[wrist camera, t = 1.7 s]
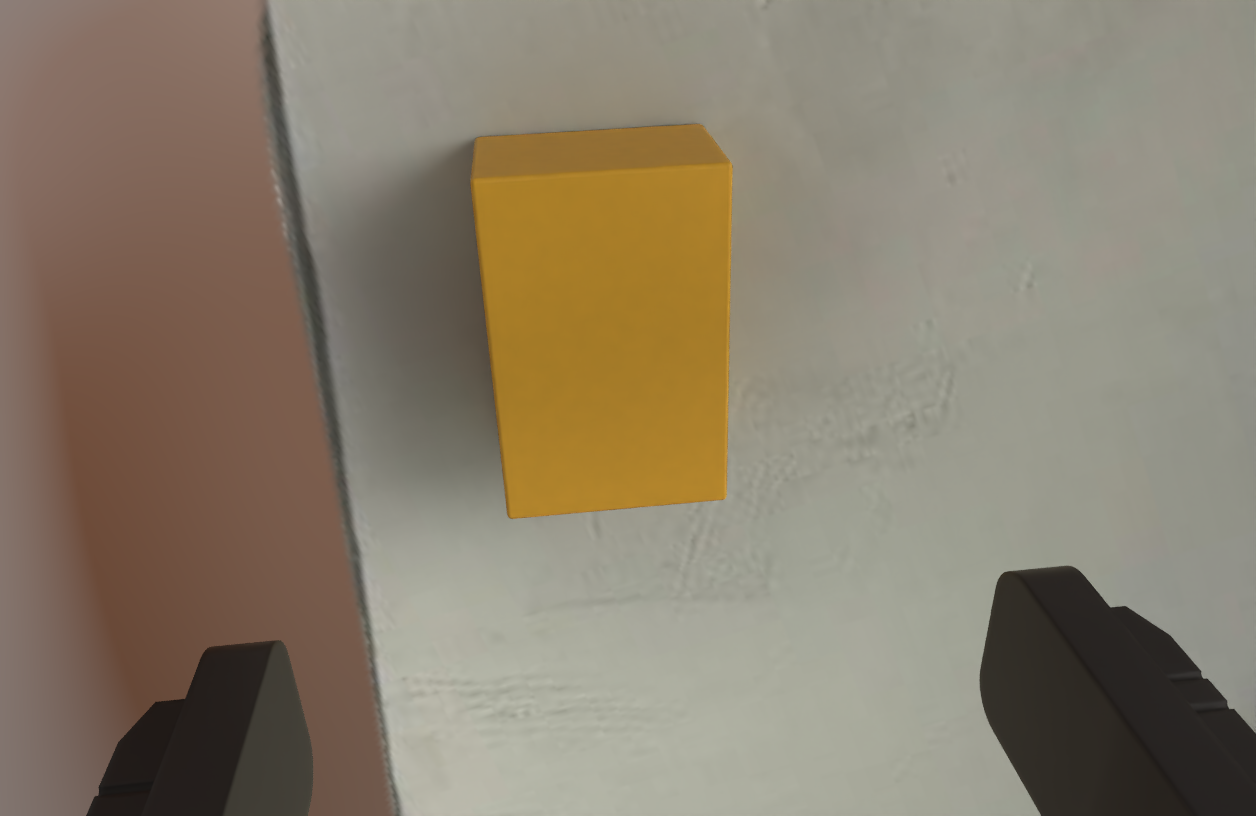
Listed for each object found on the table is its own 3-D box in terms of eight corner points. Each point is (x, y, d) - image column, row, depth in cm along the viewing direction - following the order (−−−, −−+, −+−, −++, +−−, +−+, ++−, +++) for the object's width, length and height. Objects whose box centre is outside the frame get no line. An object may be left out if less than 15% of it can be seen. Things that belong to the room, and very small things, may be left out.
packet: (473, 135, 19) (469, 179, 17) (703, 122, 20) (734, 162, 17) (507, 445, 23) (507, 520, 20) (702, 428, 23) (727, 501, 20)
